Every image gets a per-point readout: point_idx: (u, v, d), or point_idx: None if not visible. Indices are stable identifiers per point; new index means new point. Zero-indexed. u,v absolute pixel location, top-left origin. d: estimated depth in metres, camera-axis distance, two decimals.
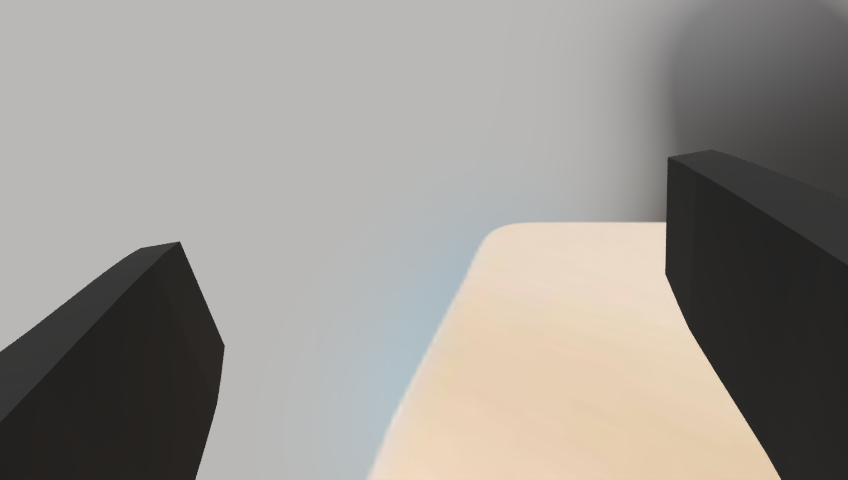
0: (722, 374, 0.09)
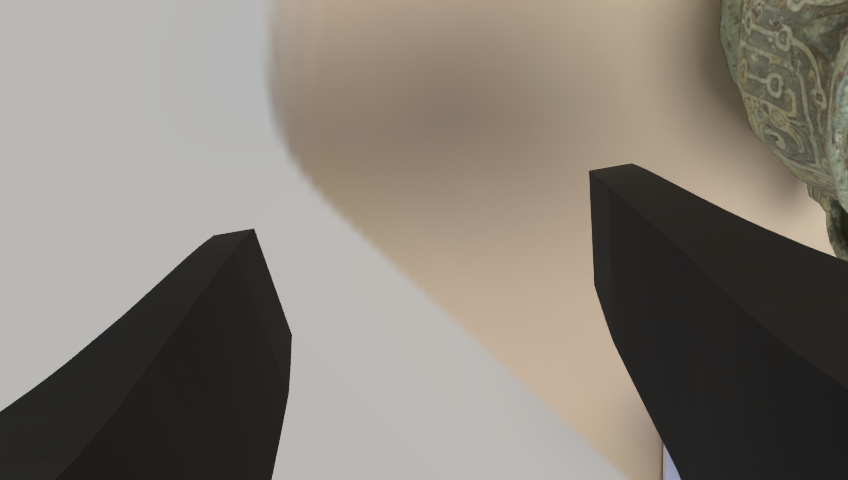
0: (639, 387, 0.09)
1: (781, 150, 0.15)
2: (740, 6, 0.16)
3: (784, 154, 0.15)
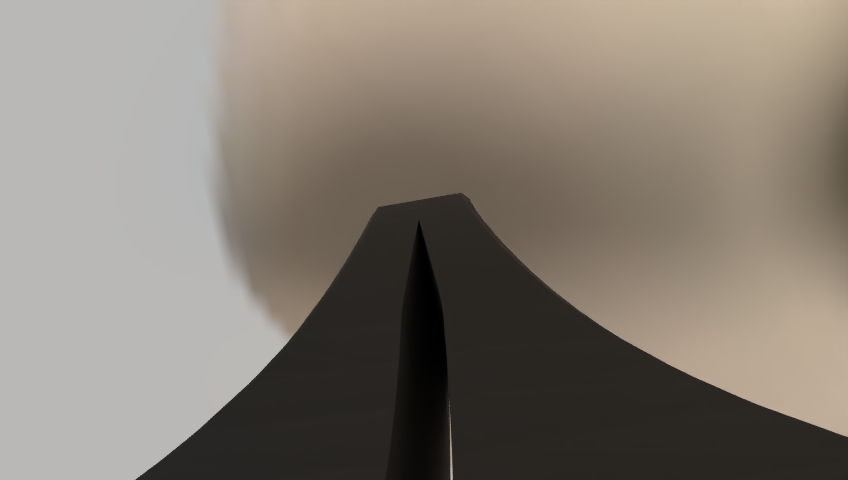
0: None
1: None
2: None
3: None
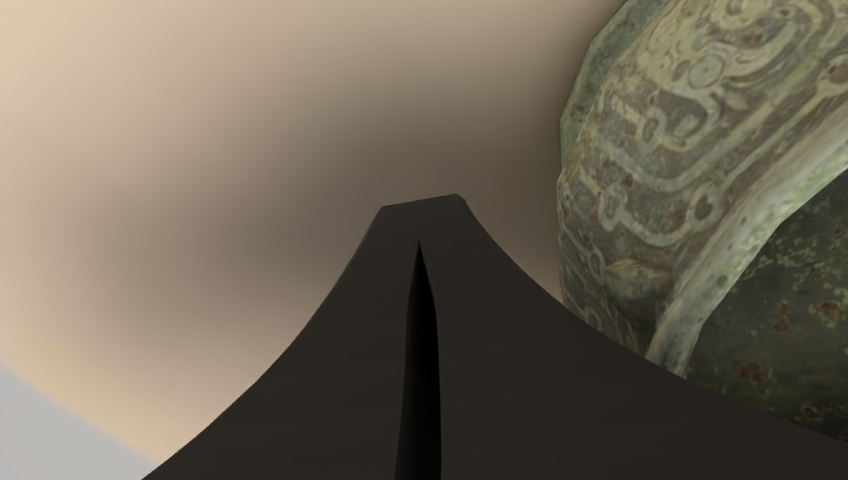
0: None
1: None
2: None
3: None
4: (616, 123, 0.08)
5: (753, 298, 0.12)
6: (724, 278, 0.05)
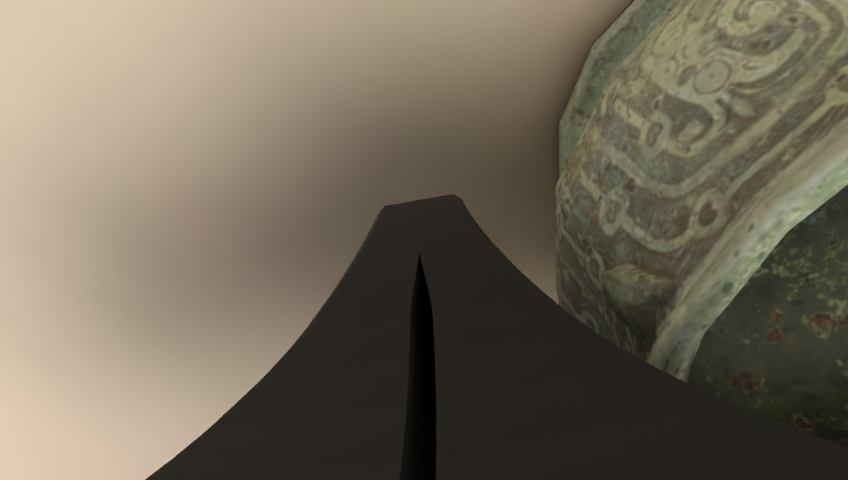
0: None
1: None
2: None
3: None
4: (620, 126, 0.08)
5: (747, 307, 0.12)
6: (729, 285, 0.05)
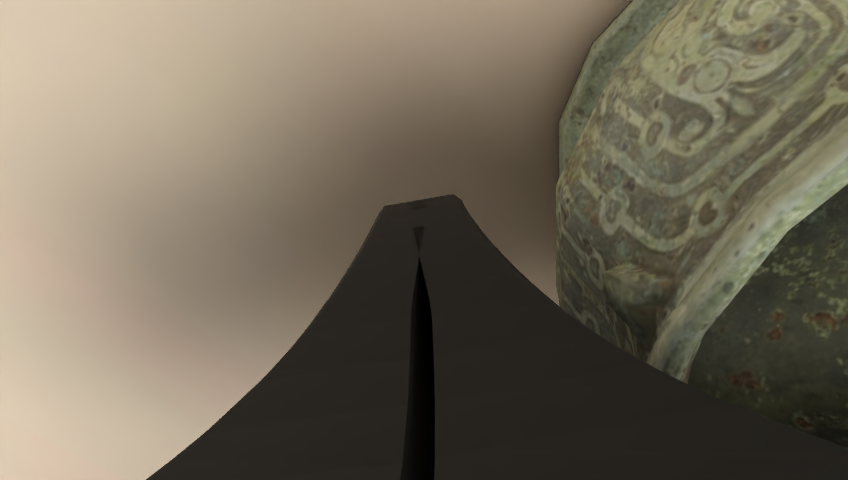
0: None
1: None
2: None
3: None
4: (620, 126, 0.08)
5: (747, 306, 0.12)
6: (730, 284, 0.05)
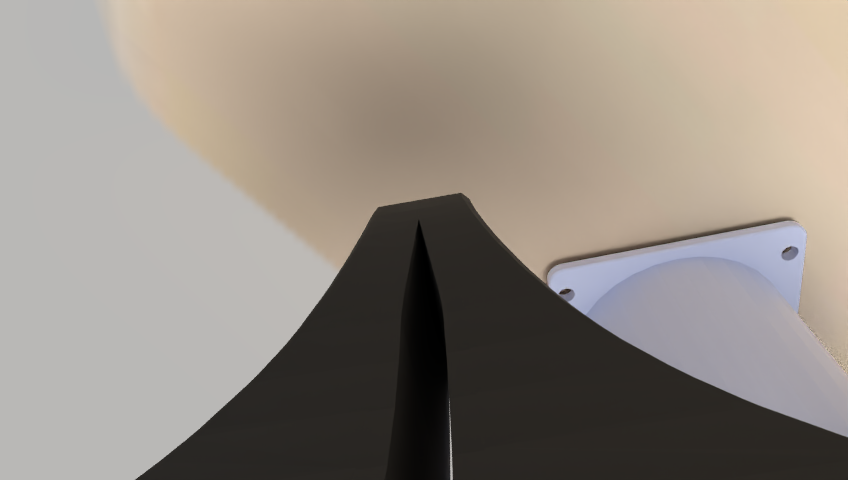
0: None
1: None
2: None
3: None
4: None
5: None
6: None
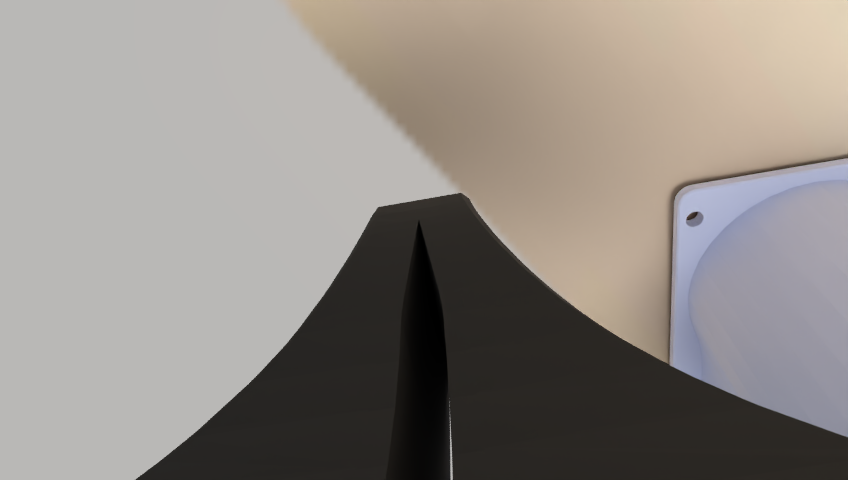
0: None
1: None
2: None
3: None
4: None
5: None
6: None
